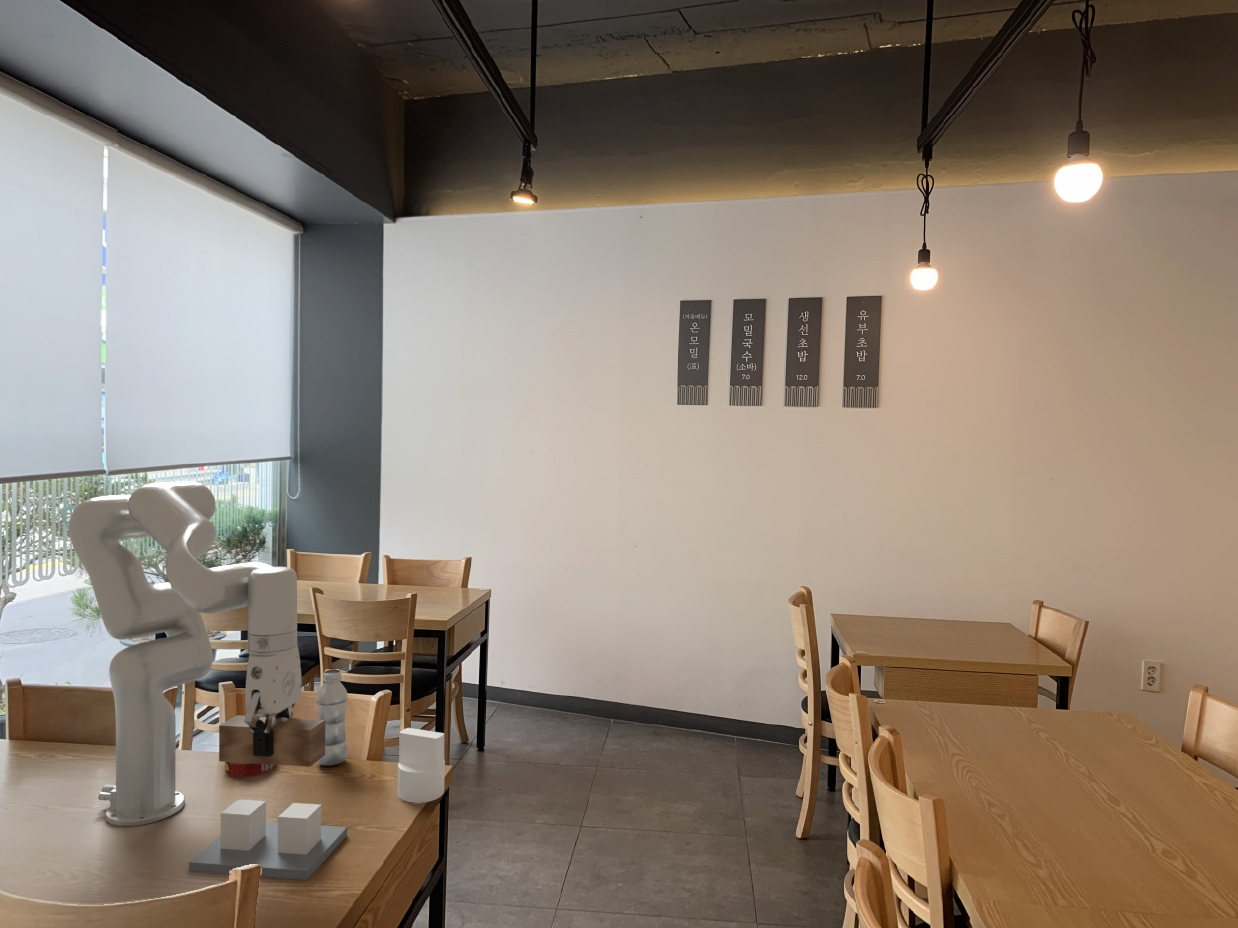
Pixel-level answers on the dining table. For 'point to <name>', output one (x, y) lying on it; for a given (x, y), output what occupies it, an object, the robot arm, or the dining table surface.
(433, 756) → the cylinder with rectangular tab
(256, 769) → the canned food
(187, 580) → the robot arm
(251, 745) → the beam
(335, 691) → the plastic bottle
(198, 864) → the board
